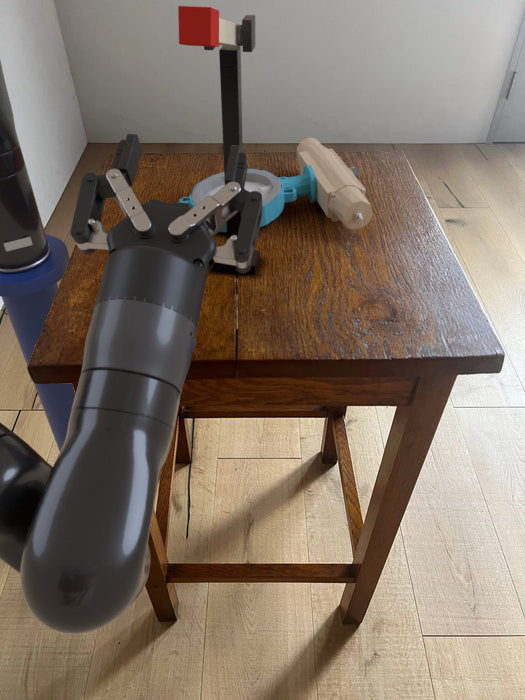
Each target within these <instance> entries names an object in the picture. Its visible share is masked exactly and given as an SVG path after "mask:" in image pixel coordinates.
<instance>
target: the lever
mask: <svg viewBox="0 0 525 700" xmlns="http://www.w3.org/2000/svg"><path fill="white" fill-rule="evenodd" d="M177 9H178V10H177V13H178V14H177V15H178V16H177V18H178V19H177V20H178V45H181V46H182V45H183V46H188V47H189V46H192V47H204V46H210V47H215V48H219V47H220V46H223V45H227V46H240V47H243V46H242V24H239V23H235V22H232V21H229V20H227V19H224V18H221V17H220V10H219V9H216V8H214V7H211V6H192V5H191V6H189V5H178V6H177Z"/></svg>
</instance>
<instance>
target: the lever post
mask: <svg viewBox="0 0 525 700" xmlns="http://www.w3.org/2000/svg"><path fill="white" fill-rule="evenodd" d="M241 25H242V46H228V45H221V47H220V48H219V51H218V55H219V56H218V58H219V79H220V80H219V81H220V102H221V124H222V125H221V127H222V149H223V172H224V176H225V175H226V170H227V164H228V159H229V154H230V149H231V145H238V146H240V149H241V153H244V152H243V151H244V149H243V148H244V147H243V104H242V103H243V100H242V99H243V98H242V95H243V94H242V54H241V53H252V52H253V51H254V49H255V48H256V15H255V14H246V15H244V17H243V18H242V20H241ZM215 48H216V47H210V46H203V50H204V51H214V50H215ZM241 49H242V50H241ZM242 214H243V213H240V212H237V213H236V214H235V215H234V216H233V217H231V218H230V219H229V220H228V221H227V222H226V223H227V232H226V241H227V240H228V239H229V238H230V237H231V236H232V235H236V236H237V235H238V231H239V226H240V222H241V218H242ZM260 261H261V251H260V250H257V249H255V251H254V255H253V260H252V264H251V268H250V270H249V271H248V272H247V273H239V272H238V271H237V270H236V268H235V266H233V265H228V264H222V263H216V262H215V264H214V265H213V266H212V271H213V272H217V273H228V274H239V275H251V276H256V274H257V271H258V268H259V264H260Z"/></svg>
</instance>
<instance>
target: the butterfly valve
mask: <svg viewBox="0 0 525 700" xmlns="http://www.w3.org/2000/svg"><path fill="white" fill-rule="evenodd" d="M296 157H297V159H298V165H299V167H298V168H299V175H294V176H289V177H288V176H280V177H279V176H277V175H276V174H273V173H272V172H270V171H268V170H265V169H258V168H257V169H256V168H247V175H246V181H245V187H244V189H245V190H247V191H249V192H252V191H258V192H260V193H261V195H262V208H263V216H262V221H261V225H260V228H261V227H264V226H267V225H269V224H270V223H271V222H273V221H274V220H276V219H277V218H278V217H279V216H280V215H281V213H282V212H283V210H284V207H285V203H292V202H295V201H296V200H297V198H302V197H307V198H308V200H309V202H310V203H311V204H314V203H316V202H317V203H318V205H319V206H320V208H321V209H322V211H323V213H324V214H325V216H326V217H327V218H330V219H331V221H332V222H333V223H335V222H339V221H341V223H342V224H343V225H344V226H345V227H346V228H347V229H349V230H353V231H356V230H360V229H363V228H364V227H366V226H367V225H368V224H369V223H370V221H371V219H372V217H373V216H374V214H373V213H374V212H373V208H372V204H371V202H370V201H369V200H368V199H367V198H366V192H367V189H366V187H365V186H364V185H363V184H362V183H361V181H360V179H361V176H360V170H359V168H358V167H357V166H355V165H354V166H351V167H348V165H346V163H345V162H344V161H343V160H342V158H341V157H340V156H339V155H338V153H336V152H335V150H334V149H333V148H331V147H330V148H328V147H326V146H325V145H323V144H322V143H321V142H320V141H319V140H318V139H317V138H315V137H314V138H313V137H306V138H305V139H302V140H301V141H300V142H299V144H298V145H297V147H296ZM224 180H225V176H224V171H222V172H219V173H216V174H212V175H210V176H208V177H207V178H205V179H203V180H201V181H199V182H198V183H196V185H195V186H193V188H192V190H191V193H190V194H189V196H183V197H182V198H180V199H179V201H178V202H181V203H189V206H190V207H192V208H193V207H194V206H195V205H197V204H198V203H199V202H200V201H201V200H203V199H204V198H205V197H206V196H208V195H210V196H213V195H214V194H215V193H217V192H218V191H219V190H220V189H221V188H223V187H224V186H225V181H224ZM178 202H176V203H178ZM205 221H206V220H205ZM205 221H204V222H205ZM218 233H227V223H225V224H224V227H223V228H222V230H221V231H219V232H218Z"/></svg>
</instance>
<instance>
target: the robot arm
mask: <svg viewBox="0 0 525 700" xmlns="http://www.w3.org/2000/svg"><path fill="white" fill-rule="evenodd" d="M141 155H142V145H141V142H140V139H139V136H138V134H136V133H127V135H126V137H125V139H121V140H120V141H119V142H118V143H117V145H116V150H115V154H114V157H113V161H112V165H111V168H110V169H109V170H107V171H106V173H104V174H100V175H97V174H96V173H94V172H87V173H85V174H84V175H83V176H82V177H81V181H80V185H79V191H78V194H77V195H78V196H77V198H76V199H77V200H76V204H75V207H74V208H75V209H74V214H73V217H72V222H71V226H70V232H69V234H70V236H71V238H72V239H73V241H74V243H75V245H76V246H77V248H78V249H79V251H80V252H81V253H82V254H83V255H85V256H86V255H91V254H93V253H94V252H95V251H96V250H102V251H108V256H107V258H106V260H105V265H104V268H103V271H102V276H101V280H100V283H99V288H98V290H97V295H96V300H95V303H94V306H93V310H92V314H91V318H90V322H89V325H88V329H87V330H88V331H87V334H86V336H85V337H86V338H85V342H84V347H83V358H82V365H81V371H80V375H79V379H78V382H77V383H78V386H77V390H76V394H75V398H74V402H73V406H72V410H71V411H72V412H71V414H70V418H69V423H68V429H67V435H66V439H65V442H64V444H63V447H62V449H61V451H59V453H58V455H57V457H56V459H55V461H54V464H53V466H52V465H51V464H50V463H49V462H48V461H47V460H45V458H43V456H42V455H40V454H39V453H38V452H37V451H36V450H35V449H34V448H33V447H32V446H31V445H30V444H29V443H28V442H26V441H25V440H24V439H23V438H22V437H20V436H19V435H18V434H17V433H15V432H14V431H12V429H10V428H8V426H6V425H4V424H3V423H2V422H0V561H2V562H3V563H5V564H6V565H8V566H9V567H10V568H11V569H13V570H14V571H16V573H18V574H19V575H20V577H19V578H20V579H19V580H20V587H21V592H22V596H23V599H24V602H25V604H26V606H27V608H28V610H29V612H30V613H31V614H32V615H33V617H34V618H35V619H36V620H37V621H38V622H39V623H41V624H42V625H43V626H45V627H46V628H47V629H50V630H52V631H54V632H58V633H61V634H66V635H82V634H88V633H91V632H92V633H93V632H95V631H98V630H100V629H102V628H104V627H106V626H108V625H110V624H111V623H113V622H114V621H115V620H117V619H118V618H119V617H121V616H122V615H123V614H124V613H125V612H126V611H127V610H128V609H129V608H130V606H132V605H133V603H135V601H137V599H138V598H139V597H140V595H141V593H142V592H143V590H144V588H145V586H146V584H147V581H148V580H149V579H148V578H149V576H150V570H151V551H150V547H149V538H150V532H151V524H152V519H153V515H154V514H153V513H154V508H155V502H156V497H157V489H158V484H159V477H160V472H161V470H162V468H163V466H164V464H165V463H166V461H167V458H168V455H169V452H170V450H171V446H172V441H173V438H174V433H175V428H176V423H177V419H178V418H177V417H178V412H179V406H180V401H181V397H182V396H181V395H182V392H183V388H184V385H185V381H186V378H187V376H188V373H189V370H190V367H191V362H192V359H193V354H194V351H195V349H196V345H197V331H198V327H199V323H200V315H201V310H202V305H203V300H204V294H205V291H206V284H207V279H208V276H209V272H210V270H211V269H212V268H213V265H214V264H215V262H216V263H222V264H228V265H233V266H235V268H236V270H237V271H238V272H239V273H247V272H248V271H249V270H250V268H251V264H252V260H253V255H254V251H255V250H256V246H257V242H258V238H259V233H260V228H261V227H260V225H261V221H262V216H263V208H262V195H261V193H260V192H258V191H252V192H249V191H247V190H245V189H244V187H245V181H246V175H247V169H248V157H247V154H246V152H243V153H241V149H240V146H238V145H231V149H230V154H229V159H228V164H227V170H226V175H225V180H224V181H225V186H224V187H223V188H221V189H220V190H219V191H218V192H217V193H215V194H214V195H213V196H210V195H208V196H206V197H205V198H204V199H203V200H201V201H200V202H199V203H198V204H197V205H195V206H194V207H193V208H192V207H190V206H189V203H181V202H179V201H178V203H177V202H170V203H168V202H166V201H163V200H161V199H152V198H149V200H148V201H147V202H144V203H140V201H139V200H138V197H137V196H136V194H135V193H134V191H133V189H132V187H133V186H134V183H135V180H136V175H137V170H138V167H139V164H140V160H141ZM25 161H26V160H25V158H24V154H23V151H22V148H21V144H20V141H19V137H18V133H17V130H16V124H15V118H14V112H13V107H12V103H11V100H10V96H9V92H8V88H7V84H6V80H5V75H4V71H3V65H2V62H1V60H0V273H2V274H16V273H22V272H26V271H29V270H32V269H35V268H37V267H39V266H40V265H42V264H43V263H45V262H46V261H47V260H48V258H49V257H50V254H51V250H50V247H49V244H48V241H47V239H46V235H45V234H46V231H45V228H44V225H43V222H42V221H43V220H42V218H41V214H40V211H39V207H38V203H37V200H36V197H35V193H34V189H33V186H32V182H31V179H30V175H29V172H28V168H27V164H26V162H25ZM110 198H115V200H116V202H117V203H118V205H119V207H120V209H121V210H122V213H123V214H124V218H122V219H121V220H120V221H119V222H117V224H115V225H114V226H113V227H112V228H111V229H110V230H109V231H108V233H107V232H106V231H105V228H104V226H103V224H102V217H103V212H104V207H105V204H106V203H105V202H106V199H110ZM237 212H240V213H243V214H242V218H241V222H240V226H239V231H238V235H237V236H236V235H232V236H231V237H230V238H229V239H228V240H227V239H226V242H225V243H224V244H223V245H220V246H219V245H217V243H216V240H215V239H214V237H215V236H216V235H217V234H219V233H220V232H219V231H221V230H222V228H223V227H224V224H225V223H226V222H227V221H228V220H229V219H230V218H231V217H233V216H234V215H235V214H236V213H237ZM205 220H206V221H205ZM204 221H205V222H204Z"/></svg>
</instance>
